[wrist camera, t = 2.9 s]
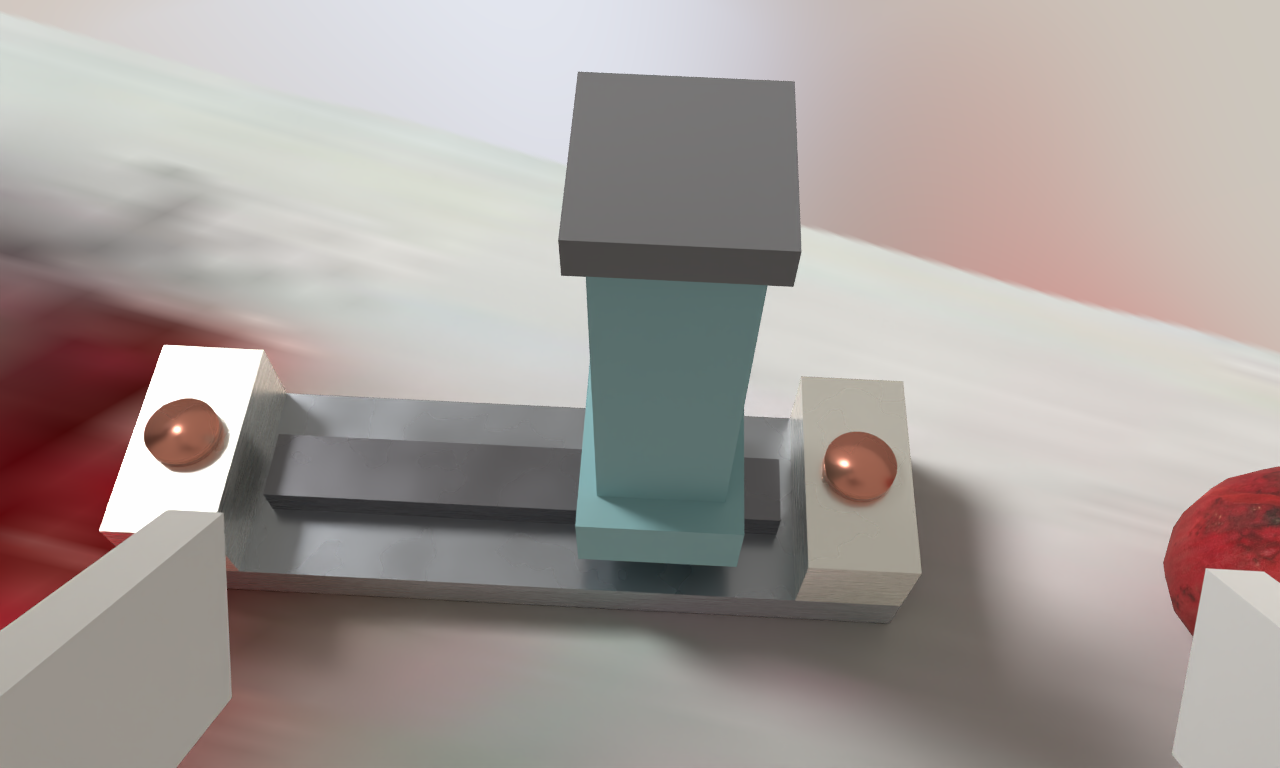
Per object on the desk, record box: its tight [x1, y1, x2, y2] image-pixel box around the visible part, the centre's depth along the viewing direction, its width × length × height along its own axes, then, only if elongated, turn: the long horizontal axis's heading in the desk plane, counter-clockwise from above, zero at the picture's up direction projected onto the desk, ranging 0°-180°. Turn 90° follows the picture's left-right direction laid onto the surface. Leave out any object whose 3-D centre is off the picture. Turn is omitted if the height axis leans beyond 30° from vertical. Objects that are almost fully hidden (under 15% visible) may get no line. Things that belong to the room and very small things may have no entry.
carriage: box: [558, 72, 801, 567], centre depth 25 cm, size 4×5×13 cm
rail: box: [99, 345, 922, 623], centre depth 31 cm, size 22×6×4 cm, turn 87°
